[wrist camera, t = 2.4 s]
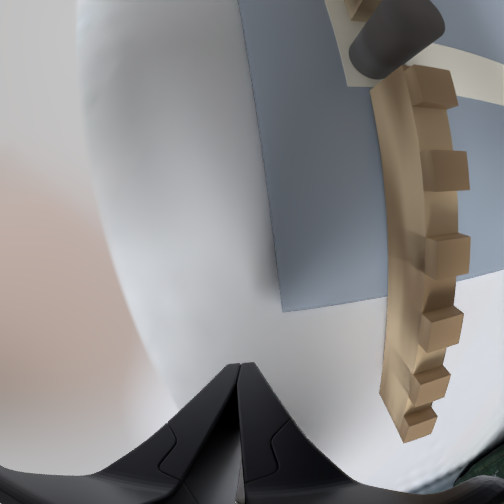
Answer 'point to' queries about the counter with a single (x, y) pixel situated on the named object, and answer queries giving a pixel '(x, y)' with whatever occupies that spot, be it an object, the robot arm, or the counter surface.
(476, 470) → the coffee jar
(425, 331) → the folding fence panel
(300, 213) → the card
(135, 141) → the counter surface
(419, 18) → the fixed fence section
